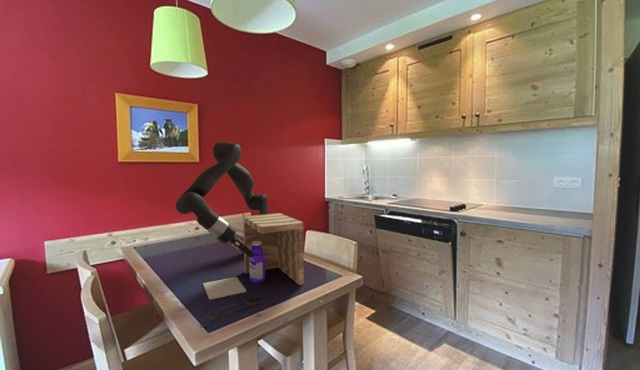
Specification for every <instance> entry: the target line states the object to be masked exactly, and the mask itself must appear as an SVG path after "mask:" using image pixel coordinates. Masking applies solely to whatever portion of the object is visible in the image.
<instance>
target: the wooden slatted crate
mask: <svg viewBox="0 0 640 370" xmlns="http://www.w3.org/2000/svg"><path fill="white" fill-rule="evenodd" d="M242 219H243V223H242V224H243V243H245V246H246V247H248V248H249V250H251V248H252V242H253V241H261V246H262V250H263V255H264V258H265V271H267V270H271V269H276V268H277V269H279V270H280V271H282V272H283V273H284V274H285V275H287V276H288V277H289V278H290V279H291V280H292V281H294V282H295V283H296V284H297V285H299V286H303V285H304V282H305V279H304V276H305V274H304V273H305V271H304V270H305V269H304V268H305V267H304V266H305V264H304V263H305V262H304V257H305V256H304V254H305V253H304V249H305V248H304V222H303V221H301V220H298V219H296V218H293V217H291V216H288V215H286V214H284V213H281V212H278V213H268V214H264V215H258V214H257V215H245V216H244V215H243V217H242ZM243 254H244V255H243V257H244V258H243V260H244V261H243V264H244V274H249V256H248V255H247V254H245V253H243Z"/></svg>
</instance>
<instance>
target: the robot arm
mask: <svg viewBox="0 0 640 370" xmlns="http://www.w3.org/2000/svg"><path fill="white" fill-rule="evenodd" d="M212 152H213V153H212V154H213V157H214V159H215V161H216V162H217V163H215V164H214V165H211V166H210V167H208V168H207V169H205V170H203V171H202V172H201V173H200V174H199V175H198V176H197V177H196V179H194V180H193V182H192V183H191V185H190V186H189V187H188V188H187V189H186V190H185V191H184V192H183V193H182V194H181V195H180V196H179V198H177V200H176V202H175V208H176V211H177V212H178V213H179V214H182V215H189V214H191V213H193V214H194V215H195V216H196V222H197V223H198V224H199V225H200V226H201V227H202V228H203V229H205V230H206V231H207V232H208V233H209V234H210V235H211V236H213V237H214V238H215V239H217V240H218V241H219V242H220V243H221V244H223V245H225V244H227V243H229V244H230V245H231V246H232V247H234V248H236V249H237V250H238V251H241V252H242V254H244V253H245V254H247V255H248V256H249V257H250V258H252V257H253V255H254V253H253V252H252V251H251V250H249V248H248V247H246V246H245V243H244V241H243V240H241V238H240V237H239V236H237V235H236V233H237V232H236V231H237V229H236V228H235V227H234V226H233V225H232V224H231V223H229V222H227V220H225V219H224V218H222V217H221V216H220V215H218V214H217V213H216V212H215V211H213V210H212V209H211V207H210V206H209V204H208V203H207V202H206V200H205V199H204V197H205V196H207V195H208V194H209V193H210V191H211V190H212V189H213V187H215V184H217V182H218V181H219V180H220V179H221V178H222V177H223V176H224V175H225V174H227V175H228V176H229V178H230V179H231V181H232V182H233V184H234V186H235V187H236V189H237V190H238V191H239V193H240V194H241V196H242V198H243V199H244V202H245V204H246V206H247V208H248V209H249V210H251V211H259V212H258V214H257V215H264V214H269V213H268V209H269V200H268V199H269V198H268V196H267V194H265V193H264V194H263V193H258V194H256V193H253V192H252V191H253V187H254V184H255V183H254V178H253V177H252V175H251V173H250V172H249V170H247V169H246V168H245V167H244V166H242V165H241V164H239V163H238V162H239V161H240V159H241V157H242V147H240V145H239V144H238V143H235V142H225V141H221V142H219V141H218V142H217V143H215V144H214V145H213V148H212Z"/></svg>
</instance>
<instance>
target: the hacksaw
mask: <svg viewBox="0 0 640 370" xmlns="http://www.w3.org/2000/svg"><path fill="white" fill-rule="evenodd" d="M261 299H263V296H261V295H256V296H254V297H250V298H248V299H244V300H242V301H238V302H236V303H233V304H229V305H226V306H222V307H219V308H218V309H219V310H224V309H227V308H231V307H235V306H237V305H242V304H245V305H246V306H245V305H244V306H242V307H240V308H236V309H234V310H231V311H227V312H225V313H222V314H219V315H218V316H214V317H212V316H211V315H208V314H207V313H204V314H203V315H204V316H205V317H208V320H207V321H208V322H210V321H211V323H210V324H209V325H207V326H201V324H199V327H200V328H203V329H204V328H205V329H207V328H208V327H209V328H210V327H211V326H212V324H213V322H214V321H215V320H218V319H221V318H223V317H224V316H227V315H230V314H231V315H232V314H234V313H237V312H241V311H242V310H246V309H249V308H252V307H253V308H254V307H255V306H256V305H258V306H256V308H258V307H260V306H261V305H262V304H261V303H260V302H254V303H253V302H252V301H259V300H261Z"/></svg>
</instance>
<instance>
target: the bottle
mask: <svg viewBox="0 0 640 370" xmlns="http://www.w3.org/2000/svg"><path fill="white" fill-rule="evenodd" d="M251 251H252V252H253V253H254V255H253V257H252V258H250V257H249V273H248V274H249V281H250V282H251V283H254V284H256V285H257V284H261V283H264V282H265V280H266V270H265V258H264V255H263V250H262V246H261V241H253V242H252V248H251Z"/></svg>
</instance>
